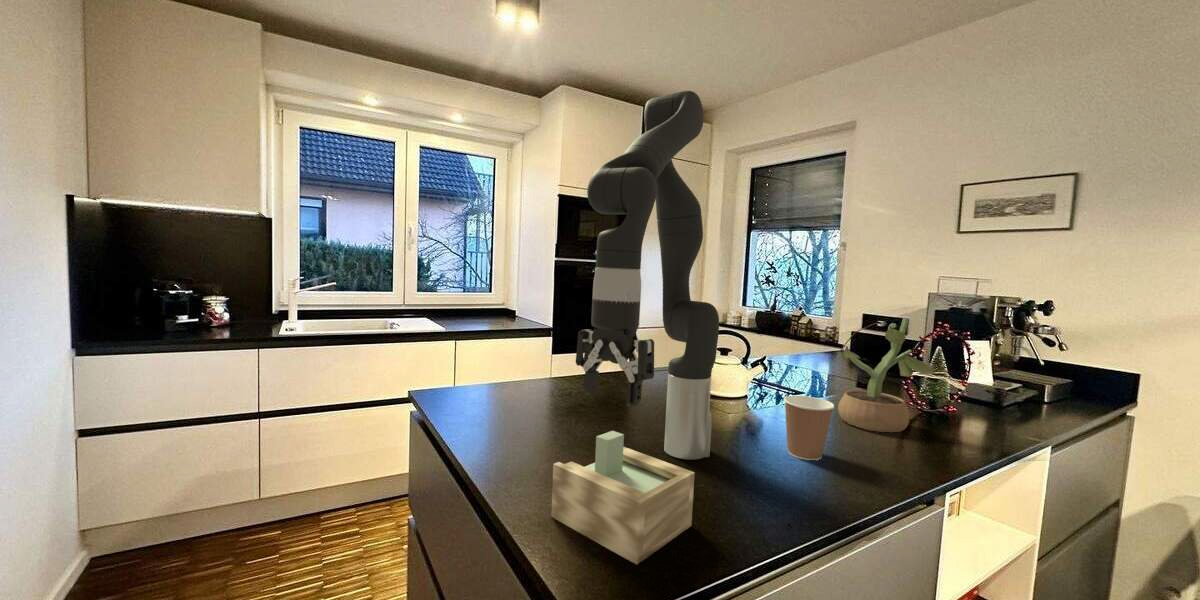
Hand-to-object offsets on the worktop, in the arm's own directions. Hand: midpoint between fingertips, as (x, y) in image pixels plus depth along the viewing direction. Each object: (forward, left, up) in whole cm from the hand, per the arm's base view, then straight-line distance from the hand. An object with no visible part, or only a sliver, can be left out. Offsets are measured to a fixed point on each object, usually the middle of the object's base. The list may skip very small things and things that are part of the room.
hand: (611, 399), depth 76 cm
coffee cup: (-46, -27, -19) cm, 57 cm away
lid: (-2, +2, -13) cm, 13 cm away
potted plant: (-76, -47, -19) cm, 91 cm away
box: (-2, +2, -19) cm, 19 cm away
